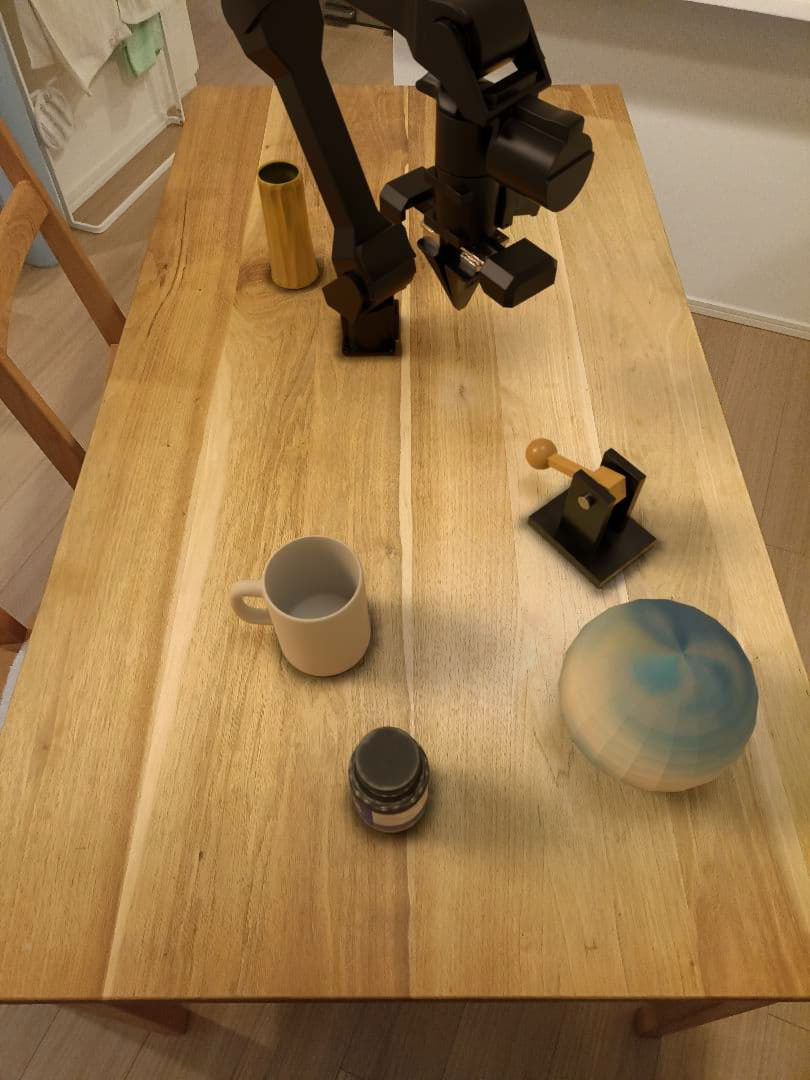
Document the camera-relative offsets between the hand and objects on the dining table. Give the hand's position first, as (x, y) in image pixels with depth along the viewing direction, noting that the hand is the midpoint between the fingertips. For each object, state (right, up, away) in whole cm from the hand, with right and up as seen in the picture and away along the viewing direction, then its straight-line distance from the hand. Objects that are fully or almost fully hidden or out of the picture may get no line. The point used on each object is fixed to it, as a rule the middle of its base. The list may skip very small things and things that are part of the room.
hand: (460, 307), depth 77 cm
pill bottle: (-7, -45, -13) cm, 47 cm away
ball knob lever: (+11, -18, -2) cm, 21 cm away
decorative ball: (+14, -40, -10) cm, 43 cm away
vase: (-20, +11, +23) cm, 33 cm away
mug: (-15, -33, -5) cm, 36 cm away
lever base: (+13, -23, +1) cm, 26 cm away
